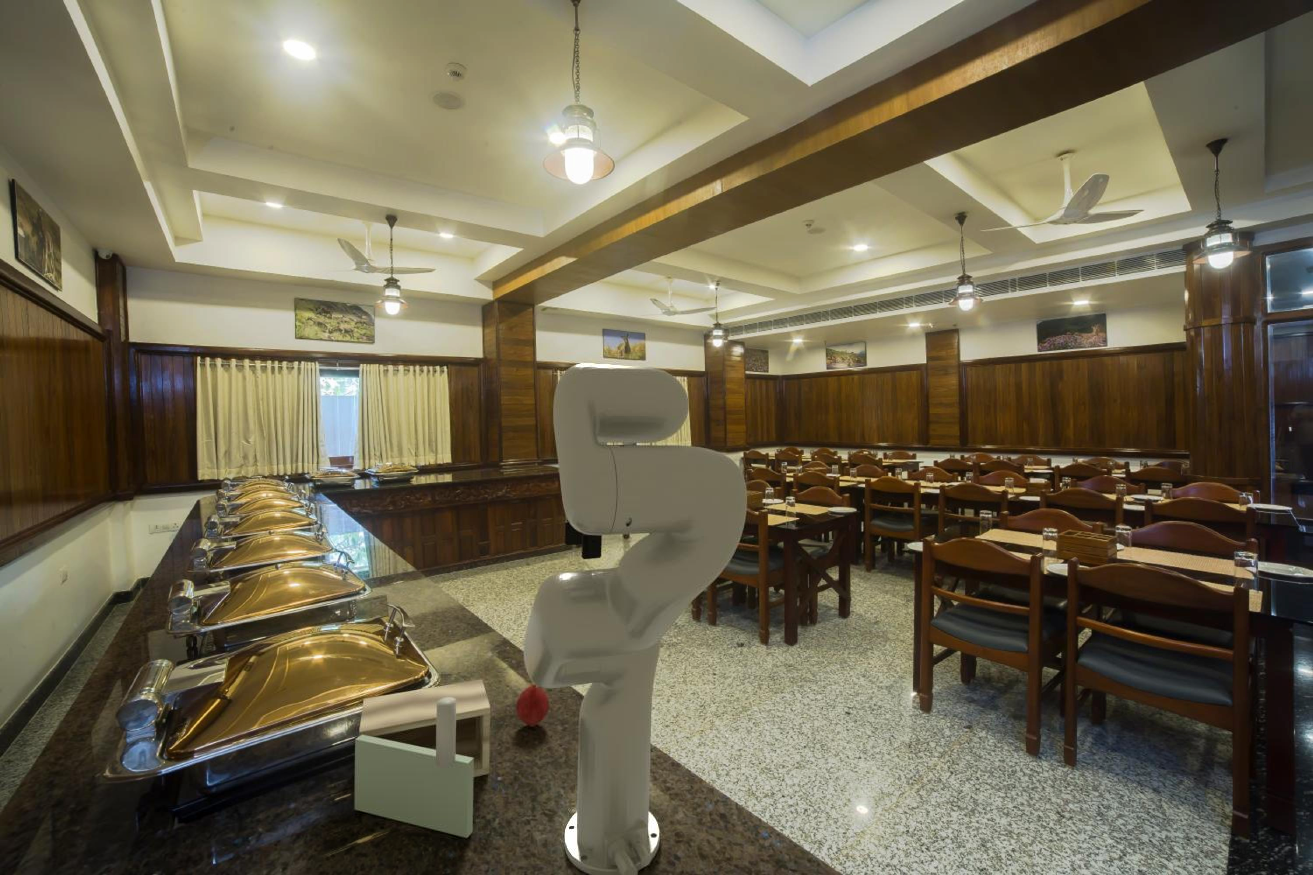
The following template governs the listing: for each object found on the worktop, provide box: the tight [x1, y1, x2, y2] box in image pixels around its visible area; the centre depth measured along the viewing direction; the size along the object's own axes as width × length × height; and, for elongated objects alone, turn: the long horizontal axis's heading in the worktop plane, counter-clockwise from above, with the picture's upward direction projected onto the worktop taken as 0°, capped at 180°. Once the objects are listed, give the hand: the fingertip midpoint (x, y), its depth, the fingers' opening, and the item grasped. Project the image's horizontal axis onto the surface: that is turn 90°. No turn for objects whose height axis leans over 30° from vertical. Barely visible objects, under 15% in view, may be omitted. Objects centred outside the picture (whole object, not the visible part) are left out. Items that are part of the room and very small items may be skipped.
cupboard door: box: [354, 697, 474, 839], centre depth 74 cm, size 3×18×18 cm, turn 75°
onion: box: [515, 682, 550, 728], centre depth 99 cm, size 6×6×8 cm
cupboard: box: [358, 678, 491, 778], centre depth 86 cm, size 10×18×10 cm, turn 115°
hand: (582, 550), depth 94 cm, fingers open, 9 cm apart
